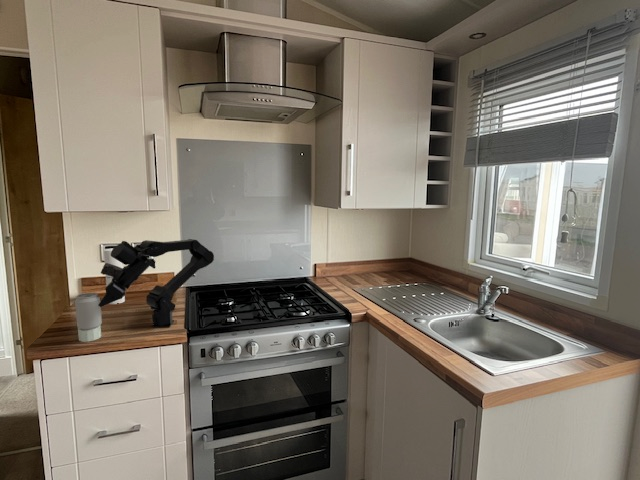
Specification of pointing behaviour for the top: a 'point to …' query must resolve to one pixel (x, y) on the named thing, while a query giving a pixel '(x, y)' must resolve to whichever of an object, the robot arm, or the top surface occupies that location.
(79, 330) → the bowl
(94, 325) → the can
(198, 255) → the robot arm
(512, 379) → the top surface
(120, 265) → the cylindrical container
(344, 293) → the top surface
